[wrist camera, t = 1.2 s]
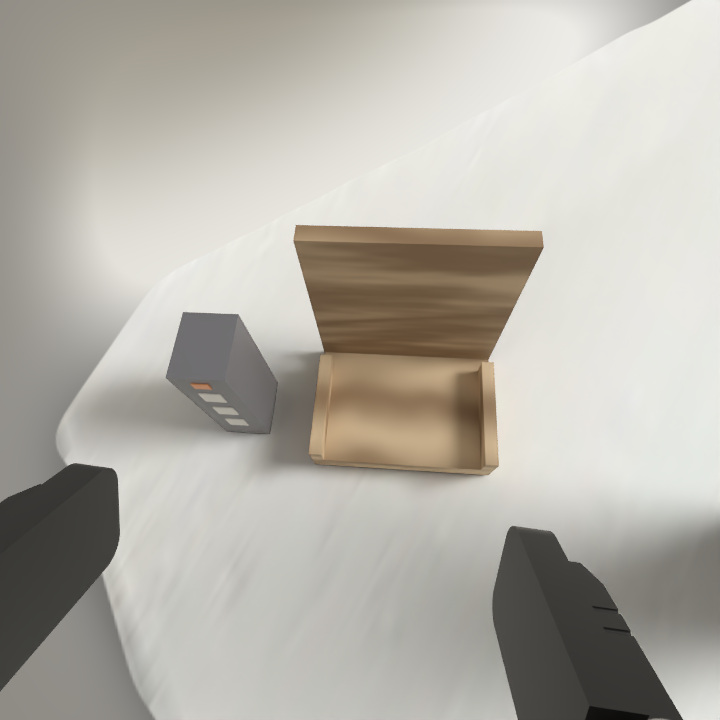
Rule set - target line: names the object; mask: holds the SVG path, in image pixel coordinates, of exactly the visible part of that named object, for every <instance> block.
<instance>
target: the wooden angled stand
mask: <svg viewBox="0 0 720 720" xmlns="http://www.w3.org/2000/svg"><path fill="white" fill-rule="evenodd" d="M293 241H294V244H295V248H296V251H297V255H298V259H299V262H300V266H301V269H302V273H303V277H304V280H305V284H306V287H307V291H308V294H309V298H310V302H311V305H312V309H313V312H314V316H315V319H316V323H317V327H318V330H319V334H320V337H321V341H322V344H323V348H324V352H325V353H324V355H320V363H319V371H318V379H317V388H316V396H315V404H314V413H313V421H312V429H311V438H310V446H309V455H310V457H311V458H312V460H313V461H314V463H315V464H323V465H338V466H354V467H369V468H385V469H401V470H416V471H432V472H447V473H463V474H478V475H489V474H490V473H491V472H492V471H493V470H495V469H496V468H497V467H498V466H499V460H498V440H497V420H496V400H495V380H494V363H491V362H488V359H489V357H490V355H491V353H492V351H493V349H494V347H495V345H496V343H497V341H498V339H499V337H500V335H501V333H502V331H503V329H504V327H505V325H506V323H507V321H508V319H509V317H510V315H511V312H512V310H513V308H514V306H515V304H516V302H517V300H518V298H519V296H520V294H521V292H522V290H523V288H524V286H525V284H526V282H527V280H528V278H529V276H530V274H531V272H532V270H533V268H534V266H535V264H536V262H537V260H538V258H539V256H540V254H541V252H542V250H543V248H544V246H543V237H542V231H511V230H471V229H430V228H389V227H348V226H308V225H296V228H295V234H294V240H293Z"/></svg>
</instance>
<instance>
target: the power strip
mask: <svg viewBox="0 0 720 720" xmlns="http://www.w3.org/2000/svg"><path fill="white" fill-rule="evenodd" d="M166 378H167V379H168V380H169V381H170V382H171V383H172V384H173V385H175V386H176V387H177V388H178V389H179V390H180V391H181V392H183V393H184V394H185V395H186V396H187V397H188V398H190V399H191V400H192V401H193V402H194V403H195V404H196V405H198V406H199V407H200V408H201V409H202V410H203V411H204V412H206V413H207V414H208V415H209V416H210V417H211V418H213V419H214V420H215V421H216V422H217V423H218V424H219V425H221V426H222V427H223V428H224V429H225V430H226V431H232V432H249V433H266V434H270V429H271V423H272V417H273V410H274V404H275V398H276V391H277V385H278V382H277V381H276V379H275V377H274V375H273V374H272V372H271V370H270V368H269V367H268V365H267V363H266V361H265V360H264V358H263V356H262V355H261V353H260V351H259V349H258V348H257V346H256V344H255V342H254V341H253V339H252V337H251V335H250V334H249V332H248V330H247V329H246V327H245V325H244V323H243V322H242V320H241V318H240V316H239V315H238V314H214V313H189V312H183V315H182V318H181V322H180V326H179V330H178V333H177V337H176V341H175V345H174V348H173V352H172V356H171V360H170V363H169V367H168V371H167V375H166Z"/></svg>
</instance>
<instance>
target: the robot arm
mask: <svg viewBox="0 0 720 720" xmlns="http://www.w3.org/2000/svg"><path fill="white" fill-rule="evenodd" d="M119 536H120V525H119V499H118V478H117V474H116V472H115V471H114V470H113V469H112V468H105V467H98V466H91V465H84V464H77V463H74V464H71V465H69V466H67V467H66V468H64V469H63V470H62V471H60V472H59V473H57V474H56V475H55V476H53V477H52V478H50V479H49V480H48V481H46V482H45V483H43V484H42V485H41V484H39V485H37V486H34V487H32V488H29V489H27V490H25V491H22V492H20V493H17V494H15V495H13V496H10V497H8V498H7V499H5V500H4V501H2V502H1V503H0V691H1V690H2V689H3V687H4V686H5V685H6V684H7V683H8V682H9V680H10V679H11V678H12V677H13V676H14V675H15V673H16V672H17V671H18V670H19V669H20V667H21V666H22V665H23V664H24V663H25V662H26V661H27V660H28V658H29V657H30V656H31V655H32V654H33V652H34V651H35V650H36V649H37V648H38V647H39V646H40V644H41V643H42V642H43V641H44V640H45V639H46V637H47V636H48V635H49V634H50V633H51V632H52V630H53V629H54V628H55V627H56V626H57V625H58V623H59V622H60V621H61V620H62V619H63V618H64V616H65V615H66V614H67V613H68V612H69V611H70V609H71V608H72V607H73V606H74V605H75V604H76V603H77V601H78V600H79V599H80V598H81V597H82V596H83V594H84V593H85V592H86V591H87V590H88V588H89V587H90V586H91V585H92V584H93V583H94V582H95V580H96V579H97V578H98V577H99V576H100V575H101V573H102V572H103V571H104V570H105V569H106V568H107V566H108V565H109V564H110V562H111V560H112V558H113V557H114V554H115V552H116V549H117V546H118V542H119ZM493 621H494V626H495V630H496V634H497V638H498V642H499V646H500V650H501V654H502V658H503V662H504V666H505V670H506V674H507V678H508V682H509V686H510V690H511V694H512V698H513V702H514V706H515V710H516V714H517V718H518V720H683V719H682V717H681V716H680V714H679V712H678V710H677V709H676V707H675V705H674V704H673V702H672V700H671V699H670V697H669V695H668V694H667V692H666V690H665V688H664V687H663V685H662V683H661V682H660V680H659V678H658V677H657V675H656V673H655V671H654V670H653V668H652V666H651V665H650V663H649V661H648V660H647V658H646V656H645V655H644V653H643V651H642V649H641V648H640V646H639V644H638V643H637V641H636V639H635V638H634V636H631V634H630V629H629V627H628V626H627V624H626V622H625V621H624V619H623V617H622V616H621V615H620V614H618V609H617V607H616V605H615V604H614V602H613V600H612V599H611V597H610V595H609V593H608V592H607V590H606V588H605V587H604V585H603V584H602V583H601V582H600V581H599V580H598V579H597V578H596V577H595V576H593V575H592V574H591V573H590V572H589V571H588V570H587V569H586V568H585V567H584V566H583V565H582V564H581V563H577V562H570V561H568V559H567V557H566V555H565V554H564V552H563V550H562V548H561V546H560V544H559V542H558V540H557V538H556V537H555V535H554V534H553V533H552V532H551V531H545V530H538V529H530V528H523V527H516V526H512V527H510V529H509V530H508V533H507V536H506V540H505V544H504V549H503V553H502V557H501V561H500V566H499V570H498V574H497V578H496V583H495V587H494V592H493Z"/></svg>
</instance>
